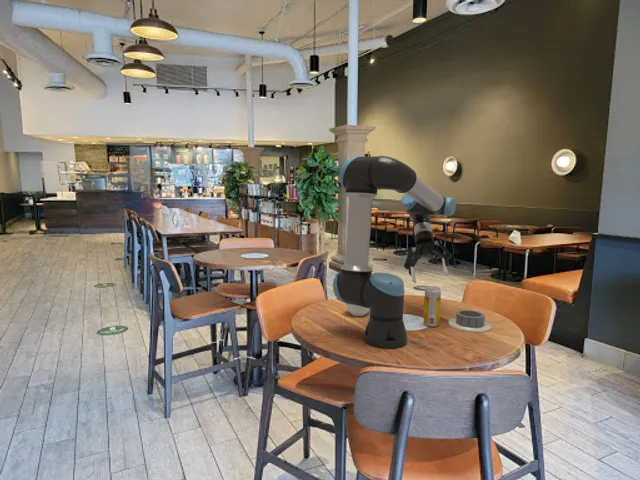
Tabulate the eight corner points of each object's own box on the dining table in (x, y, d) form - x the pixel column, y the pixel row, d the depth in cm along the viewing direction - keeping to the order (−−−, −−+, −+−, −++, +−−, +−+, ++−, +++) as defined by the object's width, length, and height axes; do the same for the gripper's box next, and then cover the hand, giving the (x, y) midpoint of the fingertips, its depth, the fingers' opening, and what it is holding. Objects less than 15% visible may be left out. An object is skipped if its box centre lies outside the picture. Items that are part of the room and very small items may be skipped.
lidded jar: (372, 318, 175) (372, 296, 174) (346, 317, 175) (346, 295, 174) (369, 310, 185) (370, 289, 184) (345, 310, 186) (345, 289, 184)
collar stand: (483, 335, 155) (484, 322, 155) (442, 326, 165) (442, 314, 165) (497, 324, 168) (497, 313, 167) (457, 316, 178) (458, 305, 177)
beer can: (437, 322, 170) (439, 286, 168) (440, 327, 164) (442, 289, 162) (422, 322, 170) (423, 285, 168) (424, 327, 164) (426, 289, 162)
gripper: (454, 230, 181) (463, 273, 169) (400, 247, 192) (404, 288, 180) (449, 221, 175) (457, 265, 163) (393, 239, 187) (397, 281, 175)
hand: (429, 277), depth 172 cm, fingers open, 13 cm apart
